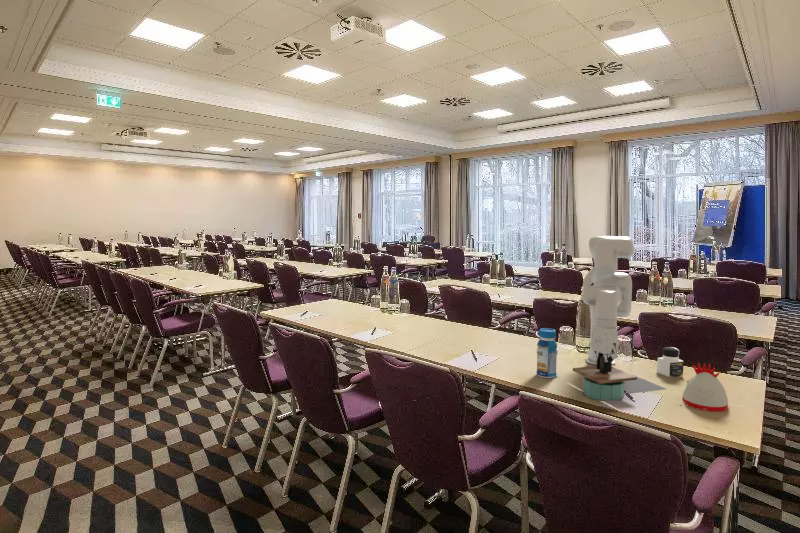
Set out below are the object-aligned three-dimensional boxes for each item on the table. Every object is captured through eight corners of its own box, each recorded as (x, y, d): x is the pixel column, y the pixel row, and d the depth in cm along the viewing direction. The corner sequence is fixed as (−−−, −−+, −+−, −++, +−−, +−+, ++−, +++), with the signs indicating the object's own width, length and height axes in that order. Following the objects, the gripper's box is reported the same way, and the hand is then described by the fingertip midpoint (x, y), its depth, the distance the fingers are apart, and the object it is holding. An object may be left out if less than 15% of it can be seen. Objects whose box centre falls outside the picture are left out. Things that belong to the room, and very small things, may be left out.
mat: (597, 380, 203) (597, 378, 202) (633, 376, 207) (633, 375, 207) (628, 395, 185) (628, 393, 185) (667, 390, 190) (667, 389, 190)
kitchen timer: (686, 394, 186) (688, 356, 185) (729, 403, 177) (732, 362, 176) (679, 405, 175) (681, 364, 174) (725, 414, 167) (727, 372, 165)
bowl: (575, 390, 191) (576, 375, 190) (606, 386, 194) (606, 372, 194) (599, 403, 177) (600, 387, 177) (631, 399, 181) (632, 383, 180)
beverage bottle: (557, 379, 204) (559, 332, 202) (536, 378, 205) (538, 331, 203) (555, 373, 212) (556, 328, 210) (535, 372, 213) (536, 327, 212)
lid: (572, 370, 191) (573, 353, 190) (607, 367, 195) (608, 350, 194) (599, 383, 175) (600, 364, 175) (636, 379, 180) (637, 361, 179)
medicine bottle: (669, 378, 204) (670, 350, 203) (656, 373, 211) (657, 346, 210) (683, 377, 206) (684, 349, 205) (669, 372, 213) (671, 345, 212)
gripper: (583, 319, 190) (581, 365, 192) (612, 327, 174) (610, 378, 176) (599, 317, 192) (598, 363, 194) (629, 326, 176) (627, 376, 178)
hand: (603, 369), depth 185 cm, fingers closed on lid, 3 cm apart
